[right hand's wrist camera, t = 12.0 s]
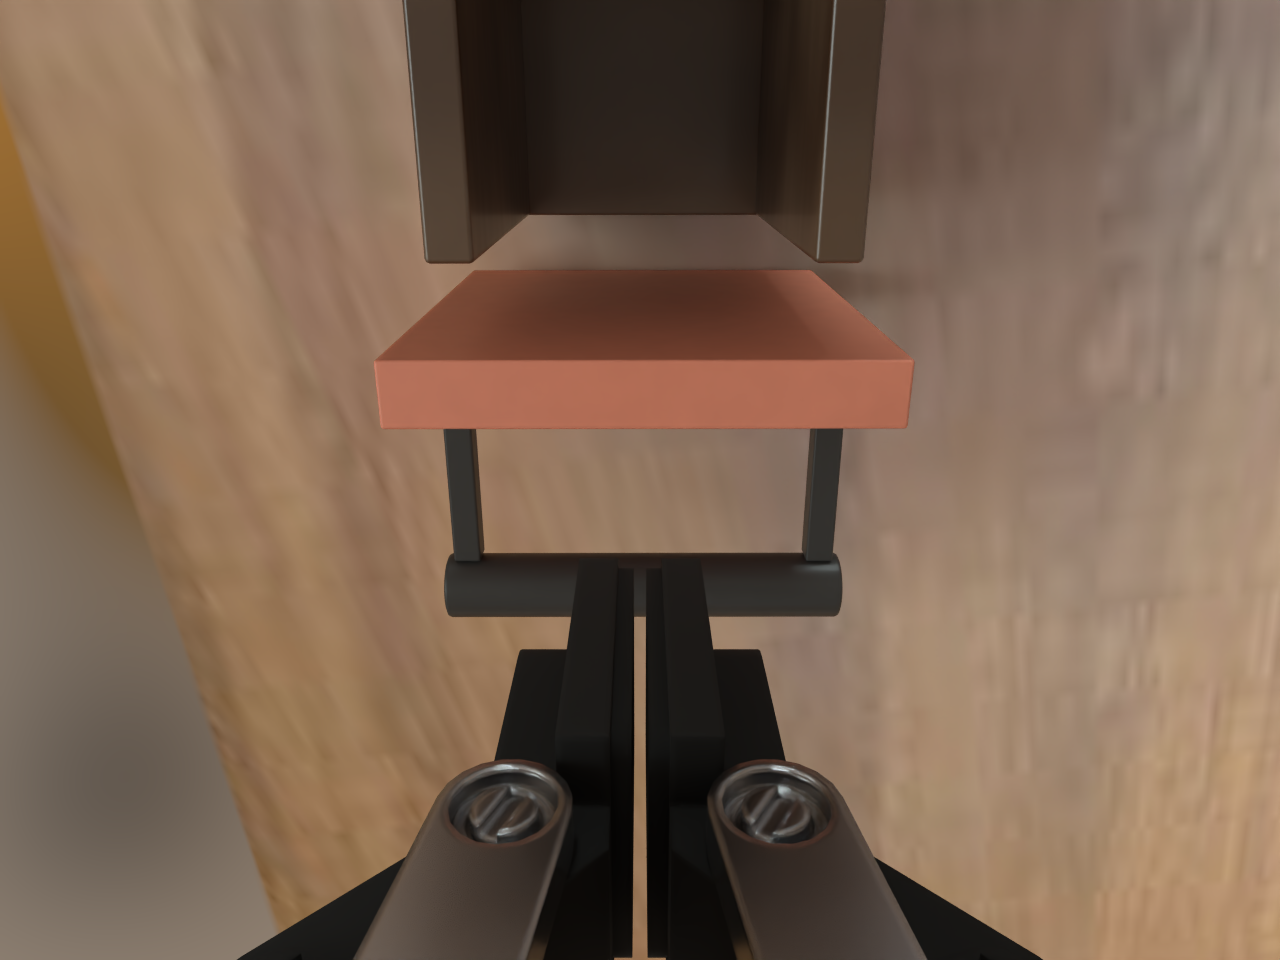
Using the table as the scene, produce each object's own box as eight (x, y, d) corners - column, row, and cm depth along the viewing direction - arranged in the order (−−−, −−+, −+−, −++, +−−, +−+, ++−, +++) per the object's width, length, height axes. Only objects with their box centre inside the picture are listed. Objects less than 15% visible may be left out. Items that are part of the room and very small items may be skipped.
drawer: (795, 514, 27) (875, 717, 18) (489, 514, 27) (412, 717, 18) (874, -674, 17) (1127, -1524, 8) (409, -673, 17) (164, -1523, 8)
